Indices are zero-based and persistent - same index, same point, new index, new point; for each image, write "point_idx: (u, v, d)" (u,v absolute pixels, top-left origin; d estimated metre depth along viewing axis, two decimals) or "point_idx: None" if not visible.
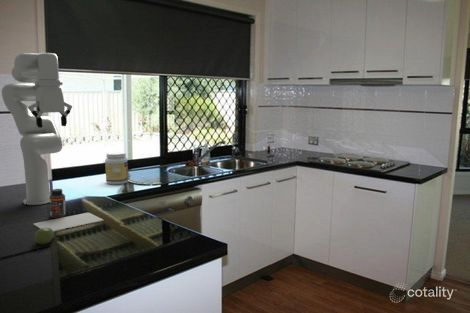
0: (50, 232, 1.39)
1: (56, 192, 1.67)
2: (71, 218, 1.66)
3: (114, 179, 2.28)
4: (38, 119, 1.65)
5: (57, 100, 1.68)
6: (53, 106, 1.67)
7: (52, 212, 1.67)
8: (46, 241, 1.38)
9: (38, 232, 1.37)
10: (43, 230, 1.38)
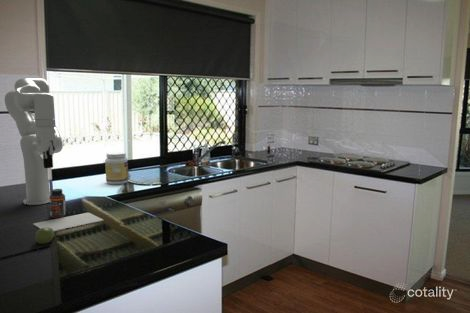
0: (50, 232, 1.40)
1: (56, 192, 1.67)
2: (71, 218, 1.66)
3: (114, 179, 2.28)
4: (50, 160, 1.72)
5: None
6: None
7: (52, 212, 1.67)
8: (47, 241, 1.38)
9: (39, 232, 1.38)
10: (43, 230, 1.38)
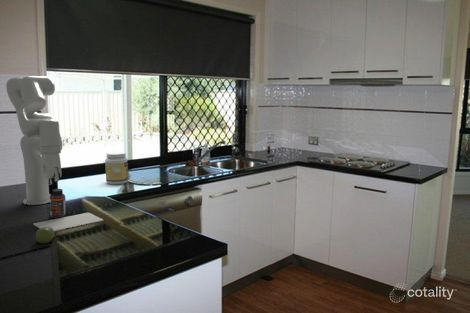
0: (51, 231, 1.40)
1: (56, 192, 1.66)
2: (71, 218, 1.66)
3: (114, 179, 2.28)
4: (56, 186, 1.70)
5: None
6: None
7: (52, 212, 1.67)
8: (47, 240, 1.39)
9: (39, 231, 1.38)
10: (44, 229, 1.39)
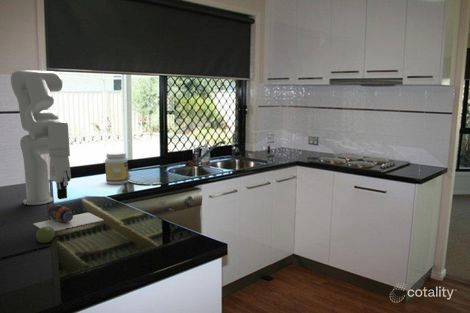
0: (51, 231, 1.40)
1: None
2: None
3: (114, 179, 2.28)
4: (65, 190, 1.64)
5: None
6: None
7: (55, 219, 1.64)
8: (47, 240, 1.39)
9: (39, 231, 1.38)
10: (44, 229, 1.39)
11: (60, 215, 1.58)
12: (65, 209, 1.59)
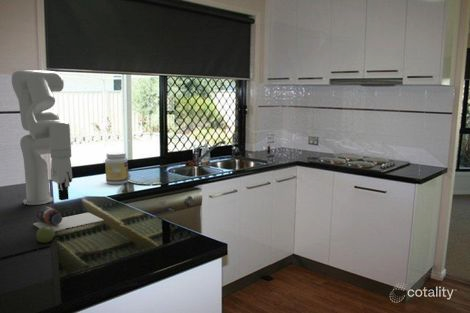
0: (51, 230, 1.41)
1: None
2: (71, 218, 1.66)
3: (114, 179, 2.28)
4: None
5: None
6: None
7: None
8: (48, 239, 1.39)
9: (40, 230, 1.39)
10: (45, 228, 1.39)
11: (53, 223, 1.56)
12: (48, 218, 1.55)
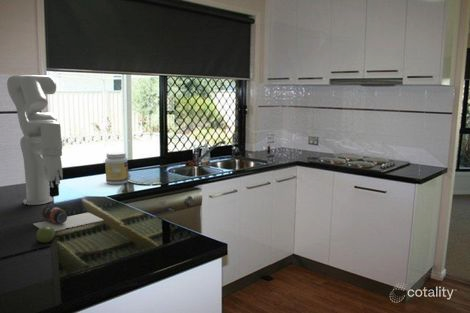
0: (52, 230, 1.41)
1: None
2: (71, 218, 1.66)
3: (114, 179, 2.28)
4: (56, 188, 1.70)
5: None
6: None
7: None
8: (48, 239, 1.39)
9: (40, 230, 1.39)
10: (45, 228, 1.40)
11: (55, 220, 1.57)
12: (55, 213, 1.57)
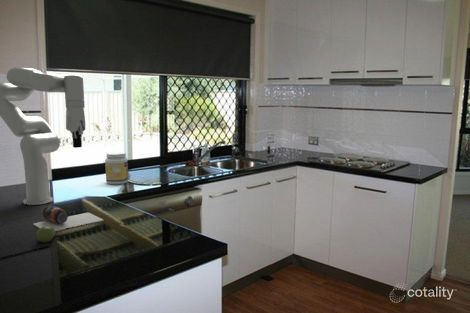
0: (52, 230, 1.41)
1: None
2: (71, 218, 1.66)
3: (114, 179, 2.28)
4: (79, 139, 1.78)
5: None
6: None
7: None
8: (48, 239, 1.40)
9: (40, 230, 1.39)
10: (45, 228, 1.40)
11: (55, 220, 1.57)
12: (55, 213, 1.57)
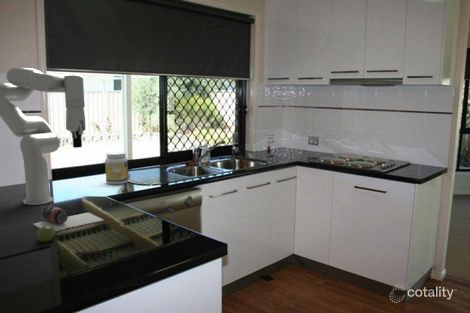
0: (52, 230, 1.41)
1: None
2: (71, 218, 1.66)
3: (114, 179, 2.28)
4: (79, 139, 1.78)
5: None
6: None
7: None
8: (48, 239, 1.40)
9: (40, 230, 1.39)
10: (45, 228, 1.40)
11: (55, 220, 1.57)
12: (55, 213, 1.57)
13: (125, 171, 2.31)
